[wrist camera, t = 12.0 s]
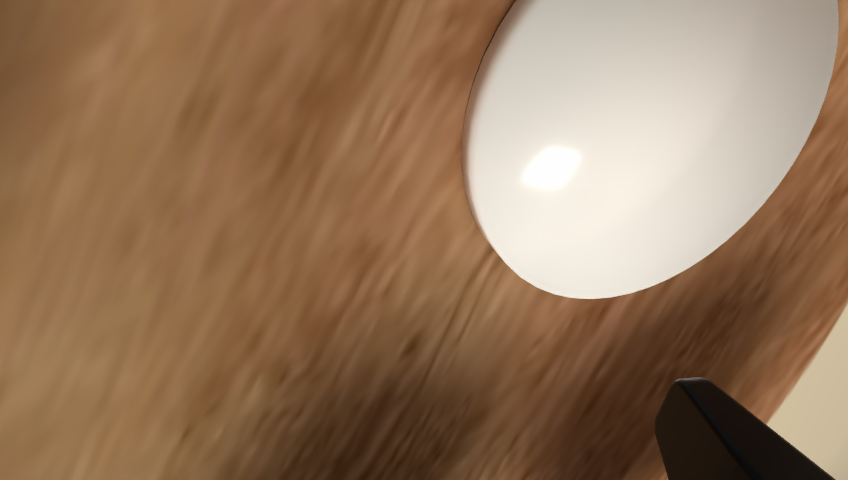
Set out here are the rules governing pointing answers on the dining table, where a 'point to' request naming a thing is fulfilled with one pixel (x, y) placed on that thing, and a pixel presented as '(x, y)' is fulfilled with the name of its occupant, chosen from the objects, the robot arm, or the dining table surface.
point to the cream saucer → (637, 131)
